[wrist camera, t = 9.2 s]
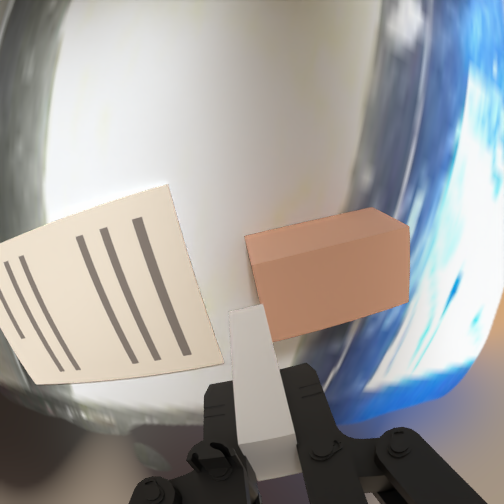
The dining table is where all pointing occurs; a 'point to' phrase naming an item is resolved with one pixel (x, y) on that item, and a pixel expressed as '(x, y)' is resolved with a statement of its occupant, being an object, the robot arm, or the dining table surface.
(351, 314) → the block
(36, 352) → the letter
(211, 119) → the dining table surface
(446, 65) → the dining table surface
